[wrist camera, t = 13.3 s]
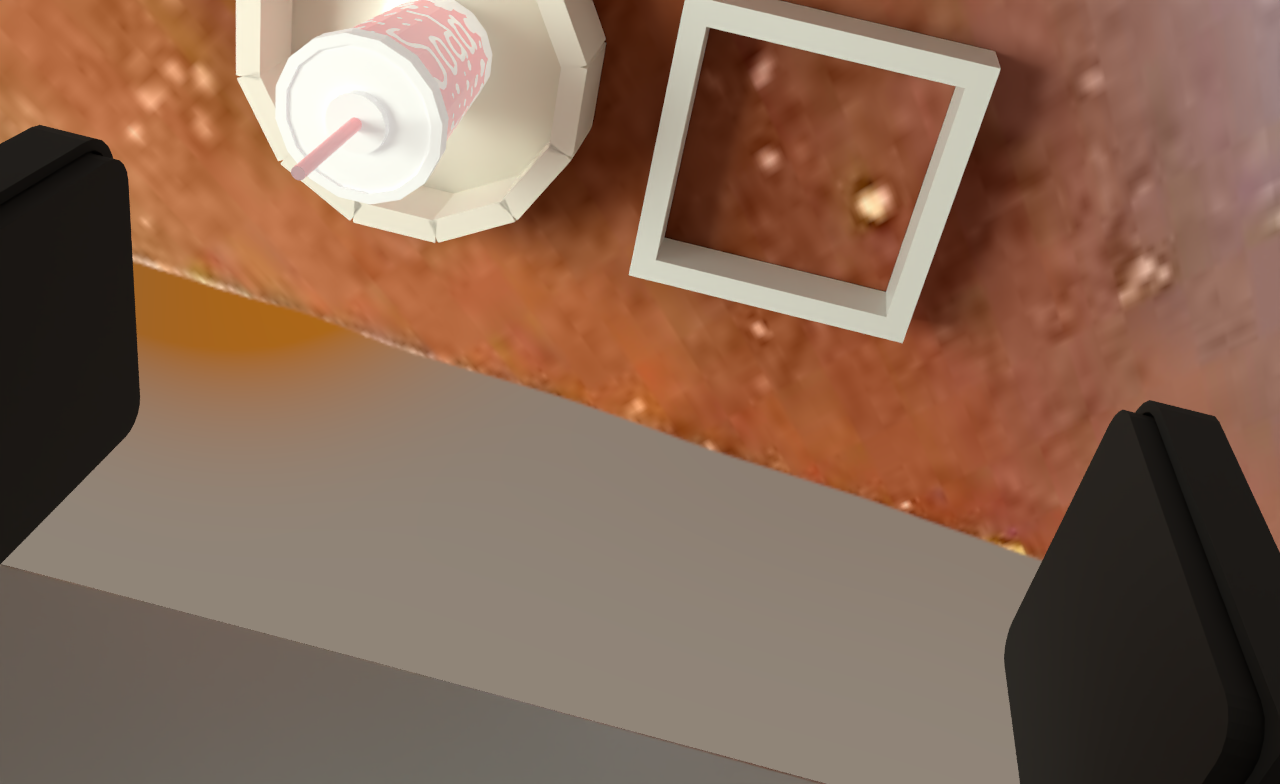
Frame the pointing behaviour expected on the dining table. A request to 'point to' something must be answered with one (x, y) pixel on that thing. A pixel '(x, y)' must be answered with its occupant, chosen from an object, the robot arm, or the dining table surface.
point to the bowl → (491, 128)
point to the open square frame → (756, 11)
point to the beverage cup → (381, 98)
